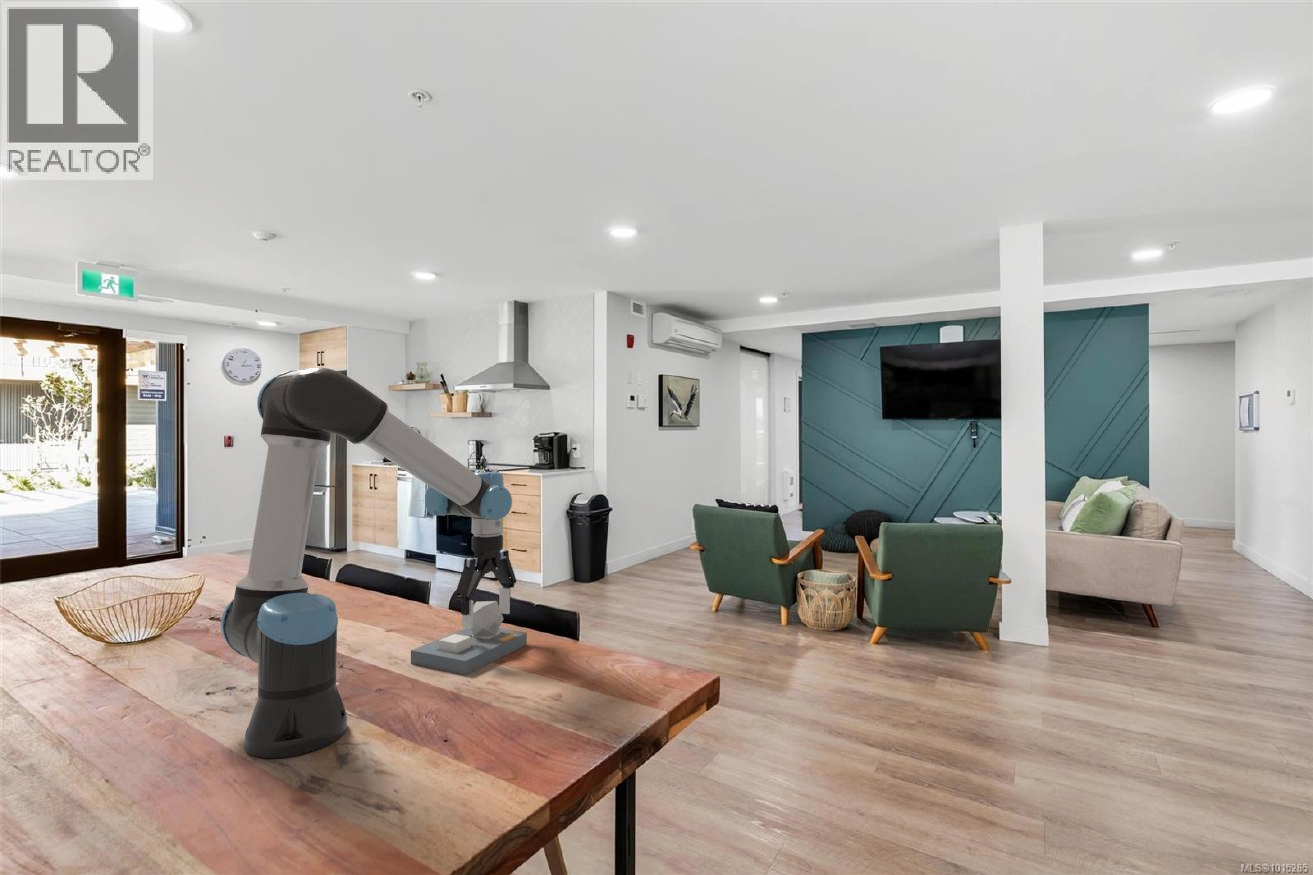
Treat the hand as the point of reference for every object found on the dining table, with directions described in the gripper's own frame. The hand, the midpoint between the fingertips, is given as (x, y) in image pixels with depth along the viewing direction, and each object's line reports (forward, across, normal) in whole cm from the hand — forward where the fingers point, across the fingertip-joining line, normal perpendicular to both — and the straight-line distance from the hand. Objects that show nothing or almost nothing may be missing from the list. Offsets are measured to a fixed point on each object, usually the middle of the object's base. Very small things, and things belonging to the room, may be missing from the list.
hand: (486, 620), depth 152 cm
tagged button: (+6, 0, 0) cm, 6 cm away
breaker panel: (+7, -6, 0) cm, 9 cm away
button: (+4, -11, 0) cm, 12 cm away
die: (+4, 0, 0) cm, 4 cm away
